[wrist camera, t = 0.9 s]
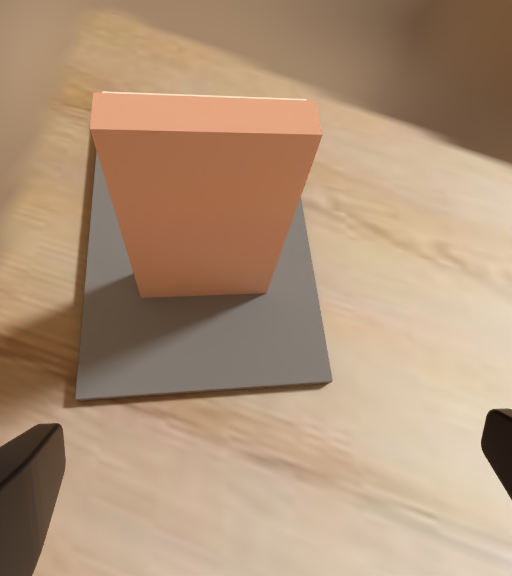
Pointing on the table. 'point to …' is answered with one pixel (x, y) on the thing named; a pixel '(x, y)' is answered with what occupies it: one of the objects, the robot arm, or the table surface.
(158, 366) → the rubber mat
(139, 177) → the terracotta tile
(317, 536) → the table surface
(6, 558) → the robot arm
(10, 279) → the table surface
